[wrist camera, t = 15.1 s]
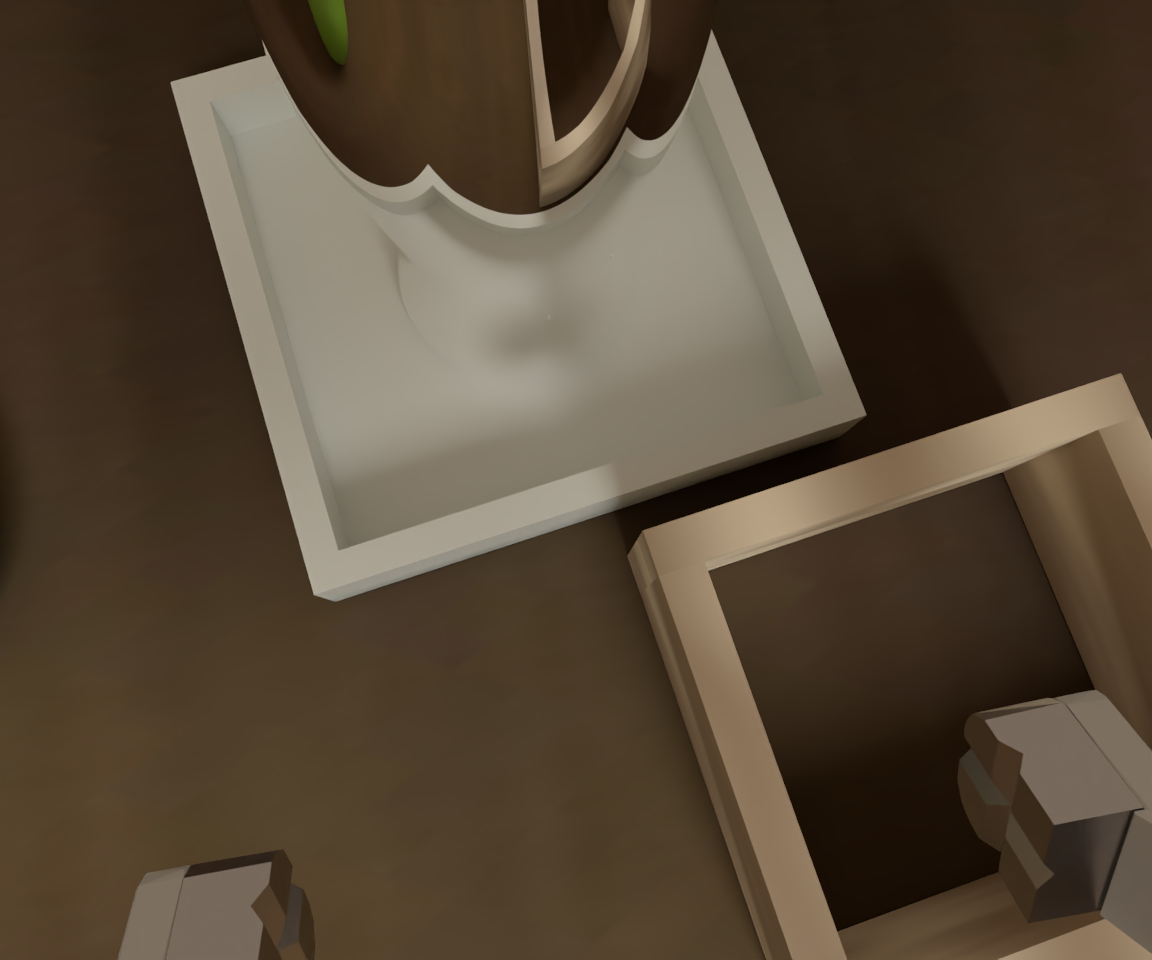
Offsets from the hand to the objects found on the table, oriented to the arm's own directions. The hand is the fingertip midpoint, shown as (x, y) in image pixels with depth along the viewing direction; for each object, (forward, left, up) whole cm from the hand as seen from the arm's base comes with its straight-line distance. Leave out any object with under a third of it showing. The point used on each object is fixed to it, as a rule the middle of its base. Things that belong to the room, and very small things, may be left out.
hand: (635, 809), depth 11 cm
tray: (-2, -12, -12) cm, 17 cm away
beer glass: (-2, -12, -12) cm, 17 cm away
